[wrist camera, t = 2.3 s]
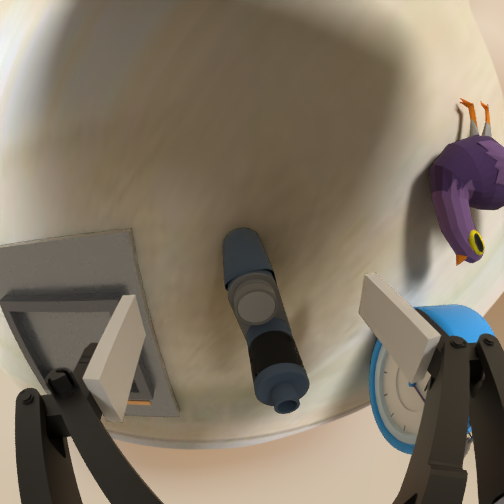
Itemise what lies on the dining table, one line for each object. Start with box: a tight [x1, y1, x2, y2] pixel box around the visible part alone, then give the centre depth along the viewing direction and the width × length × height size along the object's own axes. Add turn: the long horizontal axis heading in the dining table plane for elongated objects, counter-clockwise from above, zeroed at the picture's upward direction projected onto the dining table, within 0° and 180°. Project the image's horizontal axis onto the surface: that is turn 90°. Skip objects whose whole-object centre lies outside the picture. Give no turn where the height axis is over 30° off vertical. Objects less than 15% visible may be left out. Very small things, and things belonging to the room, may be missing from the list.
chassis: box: [0, 228, 180, 417], centre depth 21 cm, size 20×16×2 cm
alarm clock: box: [369, 305, 495, 457], centre depth 19 cm, size 13×6×15 cm, turn 173°
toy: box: [429, 98, 504, 265], centre depth 17 cm, size 11×12×7 cm
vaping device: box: [223, 228, 309, 414], centre depth 15 cm, size 3×5×12 cm, turn 17°
